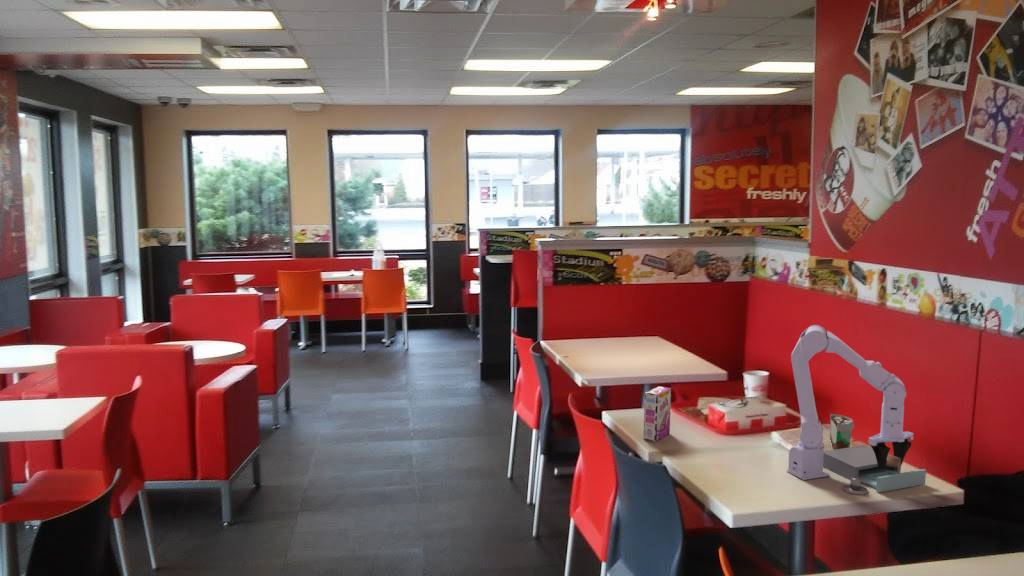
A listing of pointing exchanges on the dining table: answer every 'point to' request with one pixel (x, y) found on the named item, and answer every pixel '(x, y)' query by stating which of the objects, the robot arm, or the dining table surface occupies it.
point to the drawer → (891, 478)
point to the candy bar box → (657, 413)
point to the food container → (840, 431)
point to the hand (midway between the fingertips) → (889, 466)
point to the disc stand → (855, 487)
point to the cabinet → (851, 460)
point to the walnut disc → (893, 461)
